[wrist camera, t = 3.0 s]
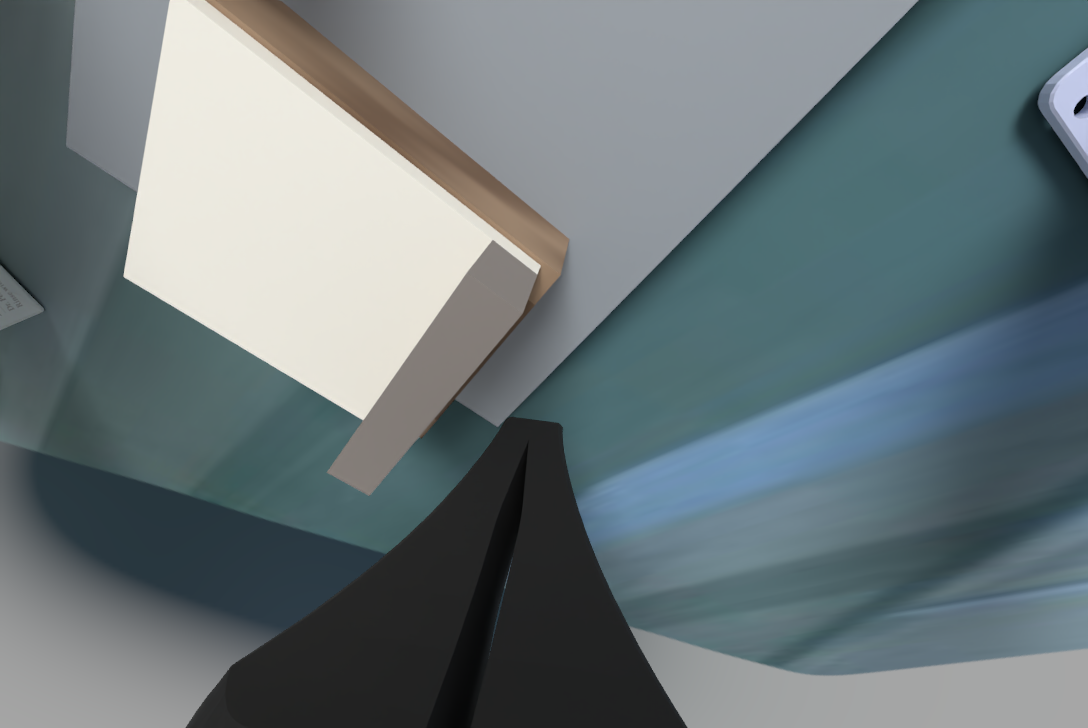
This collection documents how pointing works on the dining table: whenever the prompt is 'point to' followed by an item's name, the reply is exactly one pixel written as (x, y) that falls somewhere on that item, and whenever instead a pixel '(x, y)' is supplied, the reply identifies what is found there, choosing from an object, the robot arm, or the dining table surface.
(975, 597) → the dining table surface
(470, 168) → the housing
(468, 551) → the robot arm
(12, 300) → the skincare box
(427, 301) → the lid
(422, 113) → the board
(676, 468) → the dining table surface
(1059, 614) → the dining table surface
